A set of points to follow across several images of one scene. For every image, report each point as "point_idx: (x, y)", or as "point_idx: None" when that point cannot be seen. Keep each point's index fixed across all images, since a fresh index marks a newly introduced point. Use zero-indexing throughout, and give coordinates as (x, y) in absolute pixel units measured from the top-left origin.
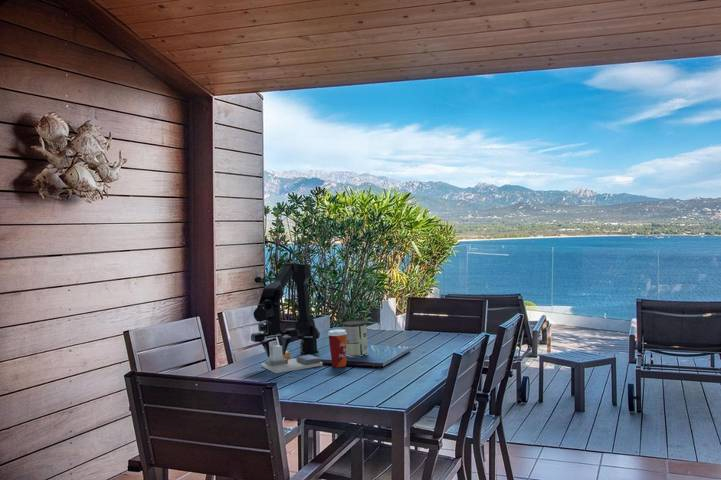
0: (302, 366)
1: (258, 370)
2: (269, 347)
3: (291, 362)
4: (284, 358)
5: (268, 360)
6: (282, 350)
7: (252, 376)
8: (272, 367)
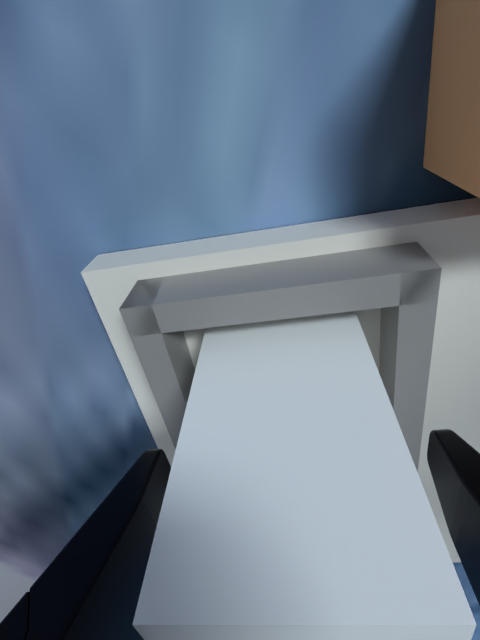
0: (453, 557)
1: (72, 408)
2: (149, 595)
3: (462, 421)
4: (425, 396)
5: (170, 391)
6: (467, 506)
7: (43, 531)
8: None
